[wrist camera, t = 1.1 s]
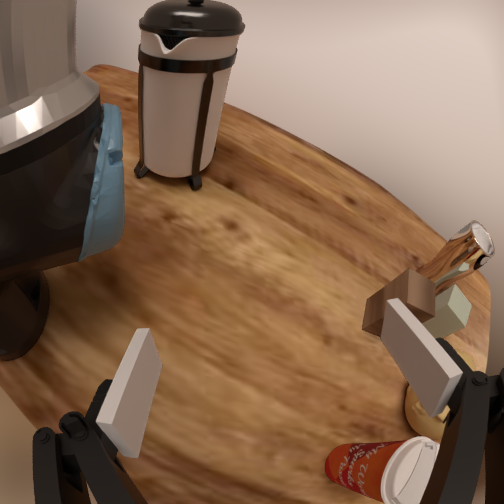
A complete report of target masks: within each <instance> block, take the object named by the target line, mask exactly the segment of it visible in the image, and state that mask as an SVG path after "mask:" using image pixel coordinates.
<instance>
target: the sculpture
mask: <svg viewBox="0 0 504 504" xmlns="http://www.w3.org/2000/svg"><path fill="white" fill-rule="evenodd" d="M455 351H456V352H457V354H459V355H460V356H461V358H462V359H463V360H464V361H465V362H466V363H467V365H468V366H469V367H470V368H471V369H472V371H476V367H475V363H474V359H473V357H472V356H471V355H470V354H468V353H466V352H462V351H460V350H458V349H455ZM449 410H450V409H449V407H448V406H446V407H445V409H444V411H443V413H441V414H439V415H436V416H434V417H432V418H430V417H429V416H428V414H427V412H426V411H425V409H424V407H423V406H422V404H421V402H420V401H419V399H418V397H417V396H416V394H415V392H414V391H413V389H412V387H411V386H410V384H409V386H408V388H407V395H406V400H405V414H406V418H407V420H408V422H409V424H410V426H411V427H412V428H413V429H414V430H415V431H416V432H417V433H419V434H420V435H422V436H425V437H428V438H433V439H441V438H442V436H443V432H444V428H445V424H446V422H445V423H444V424H443V421H444V419H445V417H446V416H447V414H448V412H449Z"/></svg>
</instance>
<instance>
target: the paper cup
mask: <svg viewBox="0 0 504 504" xmlns="http://www.w3.org/2000/svg"><path fill="white" fill-rule="evenodd" d="M439 447H440V445H439V444H438V443H437V442H434V441H432V440H431V439H430V438H427V437H423V436H419V437H414V438H412V439H409V440H406V441H393V442H382V443H355V444H344V445H341V446H338V447H337V448H335V449H334V450H333V451H332V452H331V453H330V454H329V456H328V458H327V460H326V463H325V472H326V474H327V476H328V477H329V478H330V479H331V480H332V481H334V482H336V483H338V484H340V485H342V486H344V487H346V488H348V489H351V490H353V491H355V492H358V493H360V494H362V495H365V496H367V497H370V498H373V499H375V500H378V501H380V502H383V503H385V504H419V503H420V501H421V499H422V496H423V494H424V491H425V489H426V486H427V483H428V481H429V478H430V475H431V472H432V470H433V467H434V463H435V460H436V457H437V454H438V451H439Z"/></svg>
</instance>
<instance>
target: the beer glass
mask: <svg viewBox="0 0 504 504" xmlns="http://www.w3.org/2000/svg"><path fill="white" fill-rule="evenodd" d="M494 254H495V249H494V245H493V242H492V239H491V237H490V235H489V234H488V232H487V231H486V229H485V228H484V227H483V226H482V225H481V224H480V223H479V222H477V221H475V220H474V221H472V222H470V223H469V224H468V225H466V226H465V227H464V228H462V229H461V230H460V231H459V232H457V233H456V234H455V235H454V236H453V237H452V238H451V239H450V240H449V241H448V242H447V243H446V244H445V246H444V247H443V248H442V249H441V250H440V252H439V253H438V254H437V255H436V257H435V258H434V259H433V260H432V261H430V262H429V263H427V264H425V265H423V266H421V267H419V268H418V269H417V270H416V272H417V273H419V274H421V275H422V276H424V277H426V278H428V279H429V280H431V281H433V282H435V295H436V294H437V293H438V292H439V291H440V290H441V289H442V288H444V287H445V286H446V285H448V284H450V283H453V282H455V281H457V280H460V279H462V278H464V277H466V276H468V275H470V274H472V273H473V272H475V271H476V270H478V269H479V268H480V267H481V266H483V265H484V264H485V263H486V262H487V261H488V260H489V259H490V258H492V257H493V256H494Z"/></svg>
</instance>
